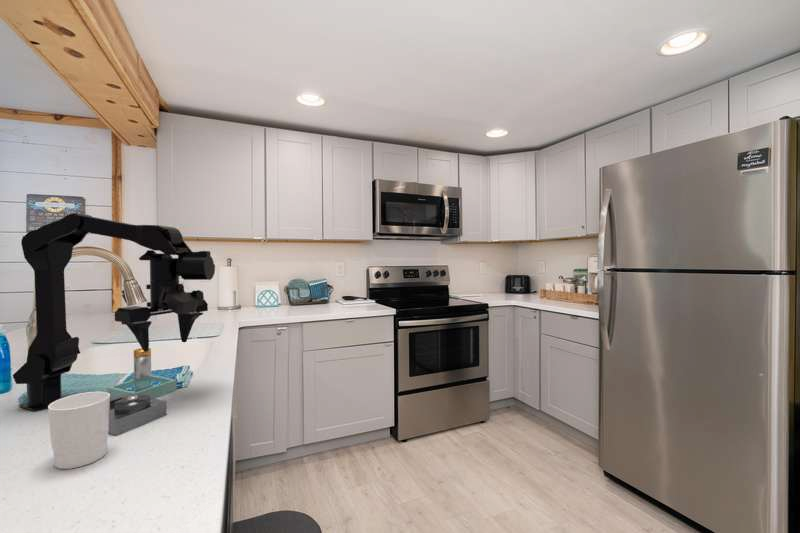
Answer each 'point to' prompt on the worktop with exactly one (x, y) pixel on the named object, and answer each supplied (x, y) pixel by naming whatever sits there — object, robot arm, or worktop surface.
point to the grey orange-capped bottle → (142, 369)
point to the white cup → (79, 428)
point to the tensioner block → (133, 412)
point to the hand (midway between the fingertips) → (166, 346)
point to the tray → (152, 392)
